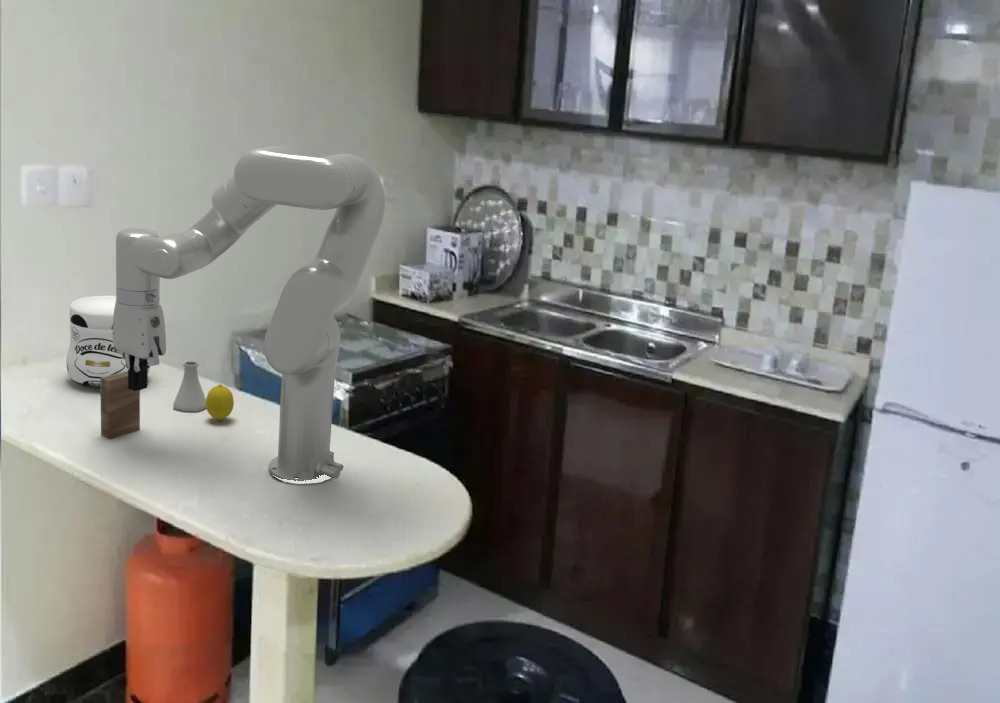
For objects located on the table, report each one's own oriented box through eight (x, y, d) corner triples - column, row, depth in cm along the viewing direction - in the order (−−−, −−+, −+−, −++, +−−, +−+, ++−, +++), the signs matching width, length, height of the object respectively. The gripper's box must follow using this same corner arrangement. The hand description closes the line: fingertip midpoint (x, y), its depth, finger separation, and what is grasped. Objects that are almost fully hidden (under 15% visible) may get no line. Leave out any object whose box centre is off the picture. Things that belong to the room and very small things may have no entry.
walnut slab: (139, 429, 186) (139, 373, 182) (109, 439, 180) (108, 381, 176) (131, 426, 187) (131, 370, 183) (101, 435, 181) (100, 377, 178)
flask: (201, 414, 197) (202, 369, 194) (167, 410, 197) (167, 366, 194) (212, 402, 204) (213, 359, 201) (179, 399, 204) (180, 355, 201)
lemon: (200, 421, 193) (200, 385, 190) (216, 413, 198) (217, 378, 196) (222, 427, 191) (223, 391, 189) (238, 419, 196) (239, 383, 194)
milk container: (83, 399, 197) (81, 318, 192) (55, 374, 209) (53, 297, 204) (162, 387, 209) (163, 310, 204) (132, 364, 221) (132, 291, 215)
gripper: (181, 301, 172) (180, 394, 177) (128, 284, 179) (128, 374, 184) (148, 308, 166) (147, 404, 171) (94, 290, 173) (95, 382, 178)
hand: (137, 388), depth 178 cm, fingers closed
